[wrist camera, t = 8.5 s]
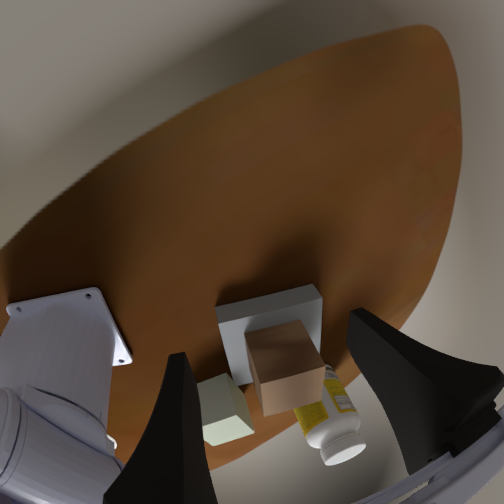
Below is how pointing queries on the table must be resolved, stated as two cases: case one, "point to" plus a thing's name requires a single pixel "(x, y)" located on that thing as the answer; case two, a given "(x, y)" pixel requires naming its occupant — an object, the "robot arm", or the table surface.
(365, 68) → the table surface
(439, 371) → the robot arm
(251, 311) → the slate slab
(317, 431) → the supplement bottle
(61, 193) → the table surface
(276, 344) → the walnut block
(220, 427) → the sage block
